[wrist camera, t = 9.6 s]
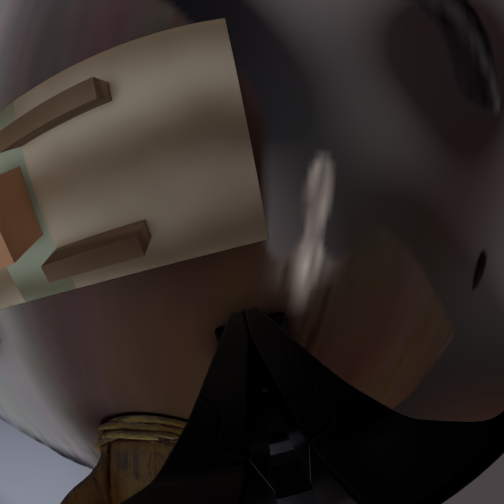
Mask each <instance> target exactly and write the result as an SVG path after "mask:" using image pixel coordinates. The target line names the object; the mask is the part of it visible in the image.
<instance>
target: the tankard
mask: <svg viewBox="0 0 504 504" xmlns="http://www.w3.org/2000/svg"><path fill="white" fill-rule="evenodd" d="M186 423H187V422H185V421H180V420H176V419H172V418H167V417H161V416H153V415H125V416H118V417H115V418H113V419H111V420H109V421H108V422H106V423H104V424H102V425H100V426H99V428H98V443H97V449H98V451H99V452H100V453H101V456H100V459H99V461H98V464H97V465H96V467H95V468H94V469H93V471H92V472H91V473H90V475H89V476H87V477H86V478H85V479H84V480H83V481H82V482H80V483H79V484H78V485H77V486H75V487H74V488H73V489H72V490H71V491H70V492H69V493H68V494H67V496H66V497H65V498H64V499H63V501H62V502H61V504H120V503H121V502H123V501H125V500H126V499H128V498H129V497H131V496H133V495H134V494H136V493H137V492H139V491H140V490H142V489H143V488H145V487H146V486H147V485H148V484H149V483H151V481H152V480H153V479H154V478H155V477H156V476H157V474H158V473H159V471H160V470H161V468H162V466H163V465H164V463H165V461H166V459H167V458H168V456H169V454H170V452H171V451H172V449H173V447H174V445H175V444H176V442H177V440H178V438H179V437H180V435H181V433H182V431H183V429H184V427H185V425H186Z"/></svg>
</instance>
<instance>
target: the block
mask: <svg viewBox="0 0 504 504" xmlns="http://www.w3.org/2000/svg"><path fill="white" fill-rule="evenodd" d="M42 235H44V234H43V232H42V230H41V227H40V225H39V222H38V219H37V217H36V214H35V212H34V209H33V206H32V203H31V200H30V198H29V195H28V192H27V188H26V185H25V182H24V179H23V175H22V172H21V168H20V166H19V167H17V168H14V169H12V170H9V171H7V172H5V173H2V174H0V269H2V268H5V267H7V266H9V265H12V264H14V263H15V262H16V261H17V260H18V259H19V258H20V257H21V256H22V255H23V254H24V253H25V252H26V251H27V250H28V249H29V248H30V247H31V246H32V245H33V244H34V243H35V242H36V241H37V240H38V239H39V238H40V237H41V236H42Z"/></svg>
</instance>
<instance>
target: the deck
mask: <svg viewBox="0 0 504 504" xmlns="http://www.w3.org/2000/svg"><path fill="white" fill-rule="evenodd" d="M19 166H20V168H21V172H22V175H23V179H24V182H25V185H26V188H27V192H28V195H29V198H30V200H31V203H32V206H33V209H34V212H35V214H36V217H37V219H38V222H39V225H40V227H41V230H42V232H43V234H44V235H42V236H41V237H40V238H39V239H38V240H37V241H36V242H35V243H34V244H33V245H32V246H31V247H30V248H29V249H28V250H27V251H26V252H25V253H24V254H23V255H22V256H21V257H20V258H19V259H18V260H17V261H16V262H15V263H14V264H12V265H9V266H7V267H5V268H2V269H0V309H2V308H6V307H9V306H13V305H17V304H20V303H24V302H28V301H31V300H35V299H39V298H42V297H46V296H50V295H54V294H57V293H61V292H65V291H69V290H72V289H76V288H80V287H84V286H87V285H91V284H95V283H99V282H103V281H106V280H110V279H114V278H118V277H122V276H126V275H129V274H133V273H137V272H141V271H145V270H149V269H153V268H156V267H160V266H164V265H168V264H172V263H176V262H180V261H184V260H188V259H192V258H196V257H200V256H204V255H208V254H212V253H215V252H219V251H223V250H227V249H231V248H235V247H239V246H243V245H247V244H251V243H256V242H260V241H264V240H268V239H269V238H268V232H267V226H266V221H265V215H264V210H263V204H262V199H261V194H260V188H259V183H258V177H257V172H256V167H255V162H254V156H253V151H252V146H251V141H250V136H249V131H248V126H247V121H246V116H245V111H244V106H243V101H242V96H241V91H240V86H239V82H238V77H237V72H236V67H235V63H234V58H233V53H232V49H231V44H230V40H229V35H228V31H227V26H226V22H225V18H223V19H216V20H211V21H205V22H199V23H194V24H190V25H185V26H181V27H177V28H173V29H169V30H165V31H161V32H158V33H154V34H151V35H148V36H145V37H142V38H139V39H136V40H133V41H130V42H127V43H124V44H122V45H119V46H116V47H114V48H111V49H109V50H106V51H104V52H101V53H99V54H97V55H95V56H92V57H90V58H88V59H86V60H84V61H82V62H80V63H77V64H75V65H73V66H71V67H70V68H68V69H66V70H64V71H62V72H60V73H58V74H56V75H55V76H53V77H51V78H49V79H48V80H46V81H44V82H43V83H41V84H39V85H38V86H36V87H35V88H33V89H31V90H30V91H28V92H27V93H25V94H24V95H22V96H21V97H19V98H18V99H17V100H15V101H14V102H12V103H11V104H10V105H8V106H7V107H5V108H4V109H3V110H2V111H0V174H2V173H5V172H7V171H9V170H12V169H14V168H17V167H19Z"/></svg>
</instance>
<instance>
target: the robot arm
mask: <svg viewBox="0 0 504 504" xmlns="http://www.w3.org/2000/svg"><path fill="white" fill-rule="evenodd" d="M281 317H282V318H281ZM279 318H281V319H279ZM219 333H222V334H219ZM215 336H216V339H217V341H218V346H217V349H216V351H215V354H214V356H213V359H212V362H211V364H210V367H209V369H208V372H207V374H206V377H205V380H204V382H203V385H202V387H201V390H200V392H199V396H198V397H197V400H196V402H195V405H194V407H193V410H192V412H191V414H190V417H189V419H188V421H187V423H186V425H185V427H184V429H183V431H182V433H181V435H180V437H179V438H178V440H177V442H176V444H175V445H174V447H173V449H172V451H171V452H170V454H169V456H168V458H167V459H166V461H165V463H164V465H163V466H162V468H161V470H160V471H159V473H158V474H157V476H156V477H155V478H154V479H153V480H152V481H151V483H149V484H148V485H147V486H146V487H145V488H143V489H142V490H140V491H139V492H137V493H136V494H134V495H133V496H131V497H129V498H128V499H126V500H125V501H123V502H121V503H120V504H504V411H503V412H502V413H501V414H499V415H498V416H496V417H494V418H492V419H489V420H485V421H477V422H461V421H457V422H456V421H437V420H424V419H415V418H411V417H408V416H404V415H402V414H400V413H398V412H396V411H394V410H392V409H390V408H388V407H387V406H385V405H383V404H381V403H380V402H378V401H376V400H374V399H373V398H371V397H369V396H368V395H366V394H364V393H362V392H361V391H359V390H358V389H356V388H354V387H353V386H351V385H350V384H348V383H347V382H345V381H344V380H343V379H341V378H340V377H339V376H337V375H336V374H335V373H333V372H332V371H331V370H330V369H328V368H327V367H326V366H325V365H322V363H321V362H320V361H319V360H318V359H316V358H315V357H314V356H313V355H312V354H310V353H309V352H308V351H307V350H306V349H305V348H303V347H302V346H301V345H300V344H299V343H298V342H296V341H295V340H294V339H293V338H292V337H291V336H289V333H288V326H287V319H286V316H285V314H284V313H276V314H273V315H269V316H267V315H266V314H264V313H263V312H262V311H261V310H260V309H259V308H258V307H252V308H248V309H245V310H244V311H243V310H240V311H236V312H232V313H230V315H229V318H228V320H227V323H226V326H225V327H221V328H218V329H216V330H215Z"/></svg>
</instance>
